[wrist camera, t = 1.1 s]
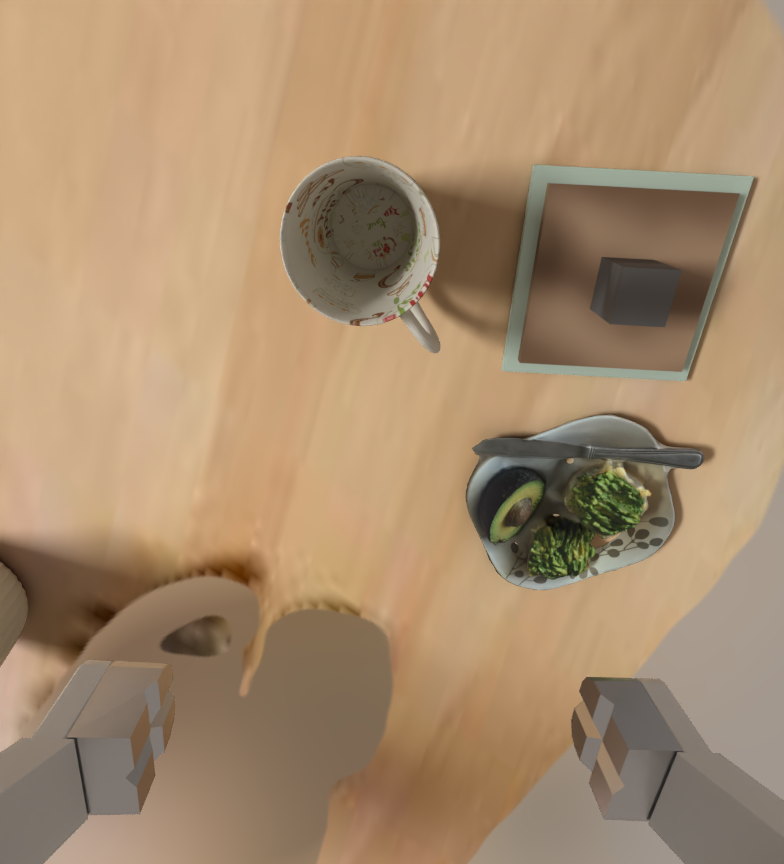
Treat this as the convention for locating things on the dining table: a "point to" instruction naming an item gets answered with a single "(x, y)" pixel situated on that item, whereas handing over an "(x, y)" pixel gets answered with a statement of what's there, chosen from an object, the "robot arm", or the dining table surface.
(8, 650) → the canister
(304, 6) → the dining table surface
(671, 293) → the walnut lid
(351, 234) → the mug
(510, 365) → the green mat
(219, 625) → the dining table surface
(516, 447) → the salad plate
